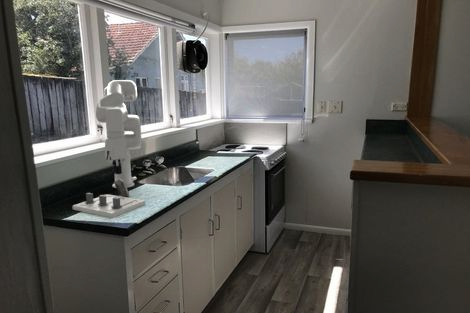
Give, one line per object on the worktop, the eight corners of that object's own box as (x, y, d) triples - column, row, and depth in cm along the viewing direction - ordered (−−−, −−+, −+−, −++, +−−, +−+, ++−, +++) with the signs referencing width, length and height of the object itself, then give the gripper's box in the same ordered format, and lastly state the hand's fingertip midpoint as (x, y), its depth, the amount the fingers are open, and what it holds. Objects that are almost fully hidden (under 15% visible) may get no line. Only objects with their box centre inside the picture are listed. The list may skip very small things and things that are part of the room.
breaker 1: (89, 200, 184) (88, 192, 183) (95, 201, 182) (94, 193, 181) (84, 202, 181) (83, 193, 180) (90, 203, 179) (89, 194, 178)
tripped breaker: (116, 205, 175) (115, 196, 175) (122, 206, 174) (121, 197, 173) (111, 207, 173) (110, 198, 172) (117, 208, 171) (117, 199, 170)
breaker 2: (102, 203, 180) (101, 194, 179) (108, 204, 178) (107, 195, 177) (97, 204, 177) (97, 195, 176) (103, 206, 175) (103, 196, 174)
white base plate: (107, 197, 197) (107, 194, 196) (145, 204, 185) (145, 200, 185) (72, 209, 178) (72, 205, 177) (112, 217, 166) (112, 213, 165)
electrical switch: (130, 196, 199) (127, 180, 197) (120, 199, 196) (117, 182, 194) (125, 193, 207) (122, 177, 205) (115, 195, 204) (113, 179, 202)
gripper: (121, 132, 177) (123, 169, 181) (96, 136, 164) (99, 176, 168) (133, 133, 174) (135, 171, 177) (109, 137, 161) (111, 178, 164)
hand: (118, 173), depth 173 cm, fingers closed
